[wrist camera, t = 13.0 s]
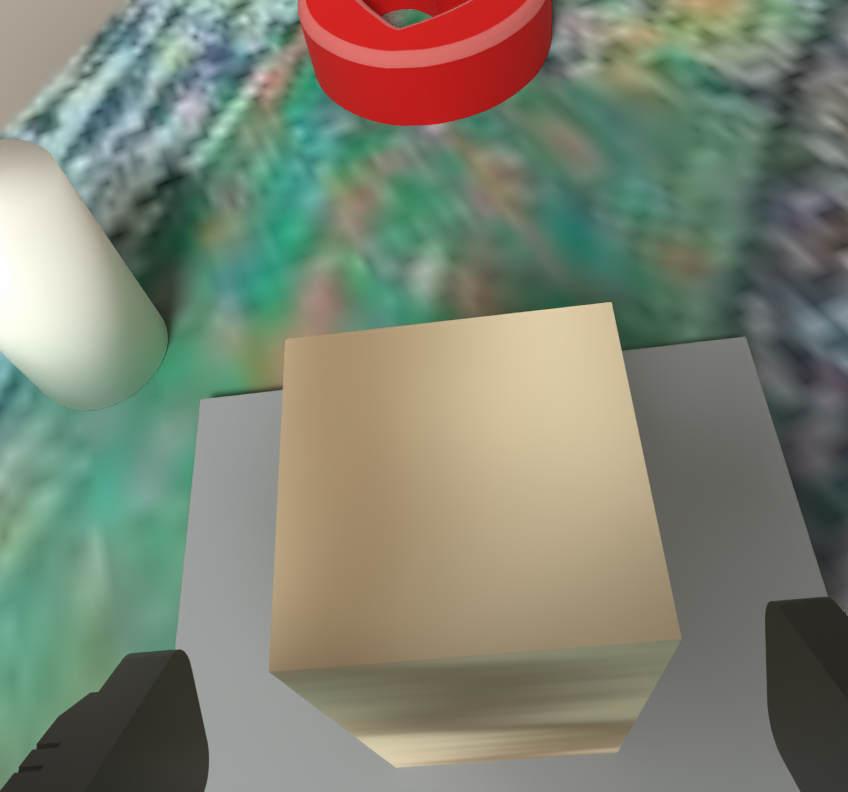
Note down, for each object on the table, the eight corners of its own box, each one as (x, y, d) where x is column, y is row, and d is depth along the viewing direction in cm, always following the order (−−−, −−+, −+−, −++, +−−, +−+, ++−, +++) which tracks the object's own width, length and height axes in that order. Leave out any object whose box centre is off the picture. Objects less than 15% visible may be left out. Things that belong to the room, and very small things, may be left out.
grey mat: (741, 348, 24) (745, 336, 23) (958, 1045, 15) (972, 1051, 15) (207, 409, 25) (200, 399, 24) (142, 1083, 17) (130, 1090, 16)
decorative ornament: (323, 151, 31) (302, 81, 28) (308, -1, 36) (288, -73, 33) (576, 101, 30) (580, 25, 27) (525, -45, 35) (524, -122, 32)
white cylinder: (188, 307, 27) (88, 146, 21) (133, 421, 25) (4, 278, 19) (75, 290, 28) (-51, 132, 22) (13, 398, 26) (-144, 256, 20)
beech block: (583, 539, 21) (611, 302, 12) (617, 752, 18) (681, 639, 10) (390, 557, 21) (285, 339, 13) (395, 767, 19) (268, 672, 10)
